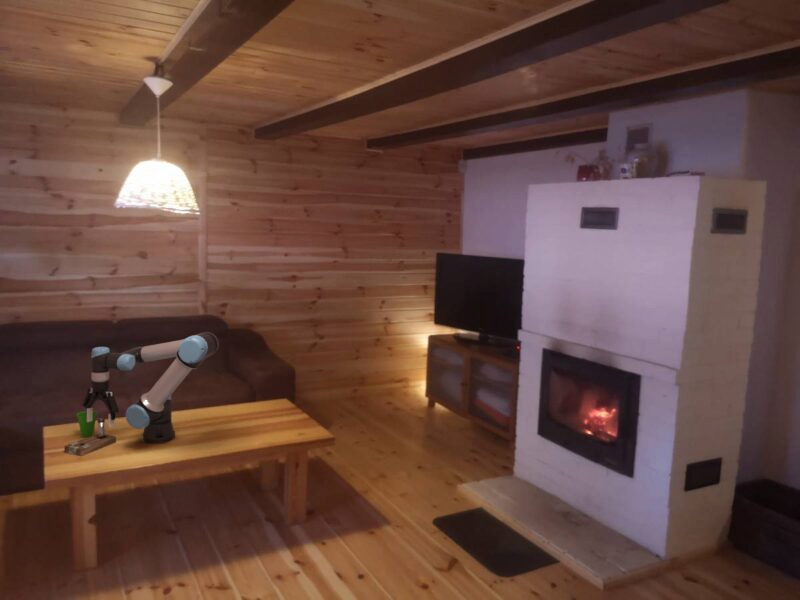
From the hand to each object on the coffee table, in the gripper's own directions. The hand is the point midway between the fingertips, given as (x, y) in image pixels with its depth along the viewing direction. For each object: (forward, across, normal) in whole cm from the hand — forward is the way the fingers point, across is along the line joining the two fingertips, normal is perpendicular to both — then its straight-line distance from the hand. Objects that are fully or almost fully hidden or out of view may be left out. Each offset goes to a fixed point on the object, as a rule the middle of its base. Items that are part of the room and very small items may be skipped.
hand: (100, 423), depth 298 cm
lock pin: (+10, 0, 0) cm, 10 cm away
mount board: (+10, 0, +6) cm, 11 cm away
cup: (+10, +14, -5) cm, 18 cm away
